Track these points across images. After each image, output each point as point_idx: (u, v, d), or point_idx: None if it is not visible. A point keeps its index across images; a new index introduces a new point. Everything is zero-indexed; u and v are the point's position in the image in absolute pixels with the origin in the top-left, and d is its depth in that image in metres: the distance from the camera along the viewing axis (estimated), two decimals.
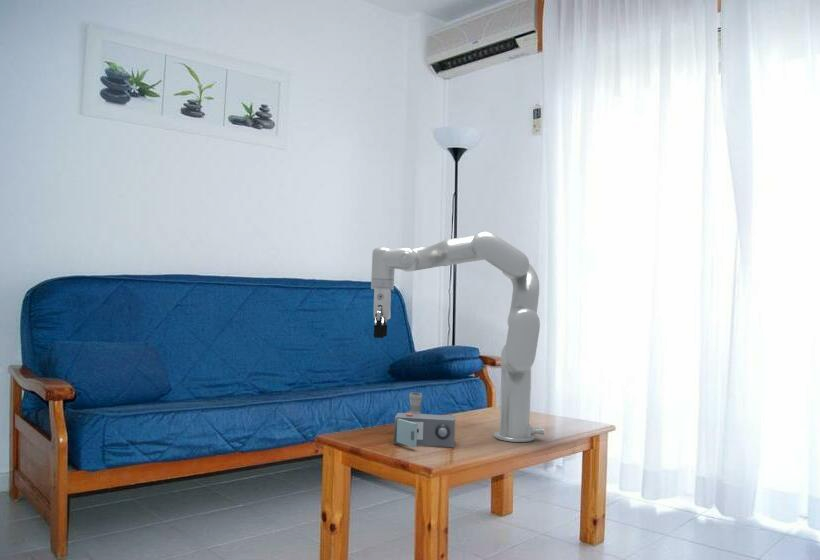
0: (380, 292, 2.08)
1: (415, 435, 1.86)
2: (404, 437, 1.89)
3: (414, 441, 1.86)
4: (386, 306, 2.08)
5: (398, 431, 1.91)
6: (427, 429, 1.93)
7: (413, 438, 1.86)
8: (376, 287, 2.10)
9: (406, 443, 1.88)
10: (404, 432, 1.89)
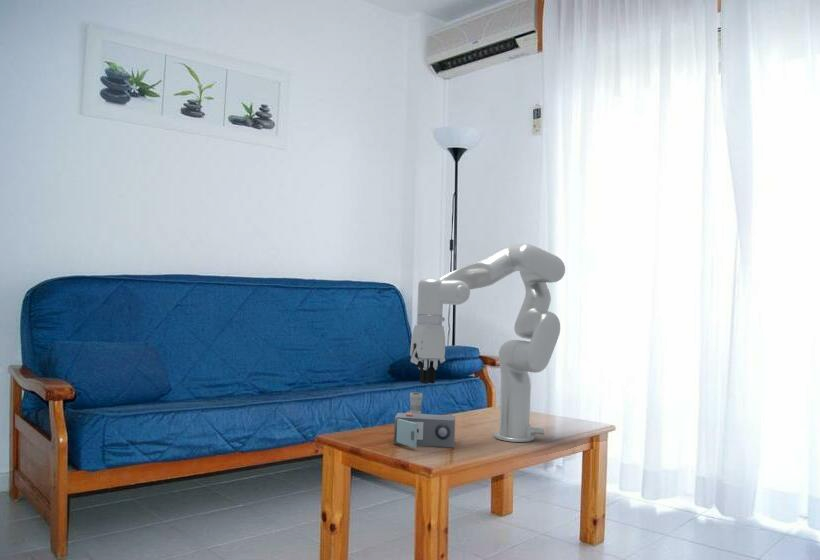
0: None
1: (415, 435, 1.86)
2: (404, 437, 1.89)
3: (414, 441, 1.86)
4: None
5: (398, 431, 1.91)
6: (427, 429, 1.93)
7: (413, 438, 1.86)
8: None
9: (406, 443, 1.88)
10: (404, 432, 1.89)
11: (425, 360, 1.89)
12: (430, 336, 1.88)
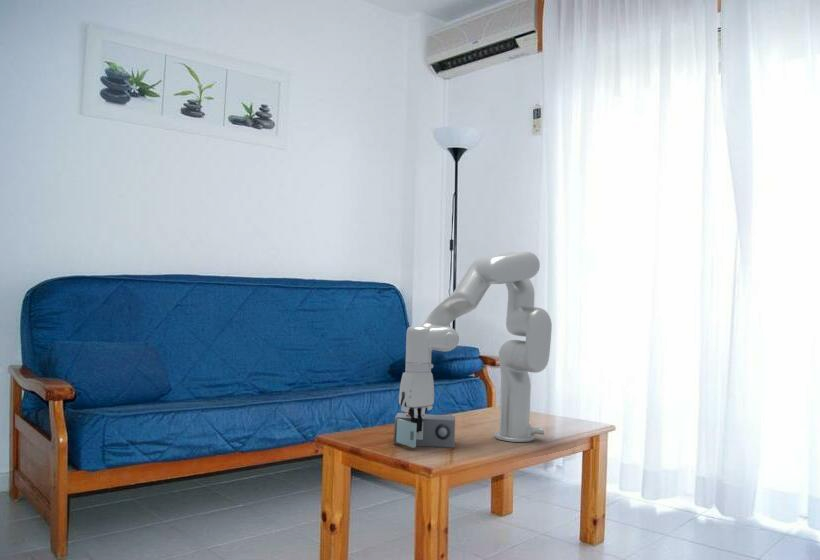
0: None
1: (414, 435, 1.86)
2: (404, 437, 1.89)
3: (414, 441, 1.86)
4: None
5: (398, 431, 1.91)
6: (427, 429, 1.93)
7: (412, 438, 1.85)
8: None
9: (406, 443, 1.88)
10: (404, 432, 1.89)
11: (415, 408, 1.88)
12: (419, 384, 1.87)
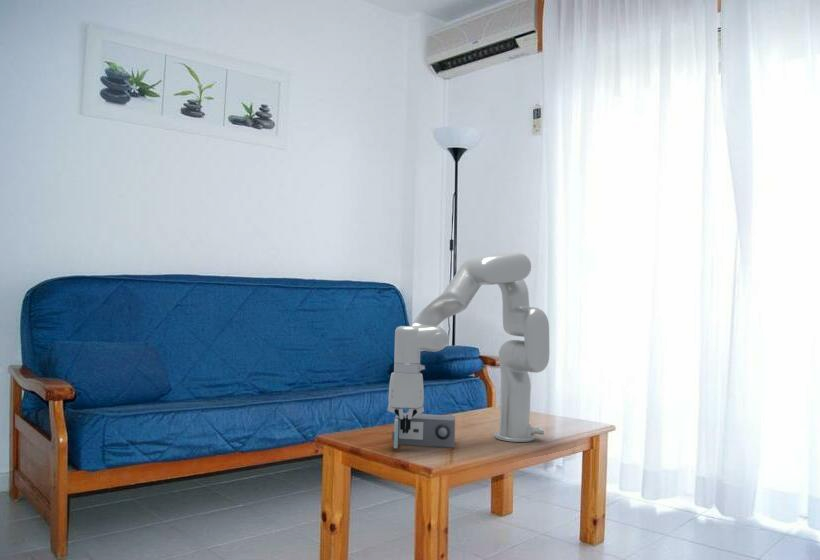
0: (422, 377, 1.87)
1: (396, 436, 1.84)
2: None
3: (395, 442, 1.84)
4: None
5: None
6: (427, 429, 1.93)
7: (393, 439, 1.84)
8: (418, 372, 1.86)
9: None
10: None
11: (400, 409, 1.86)
12: (402, 384, 1.85)
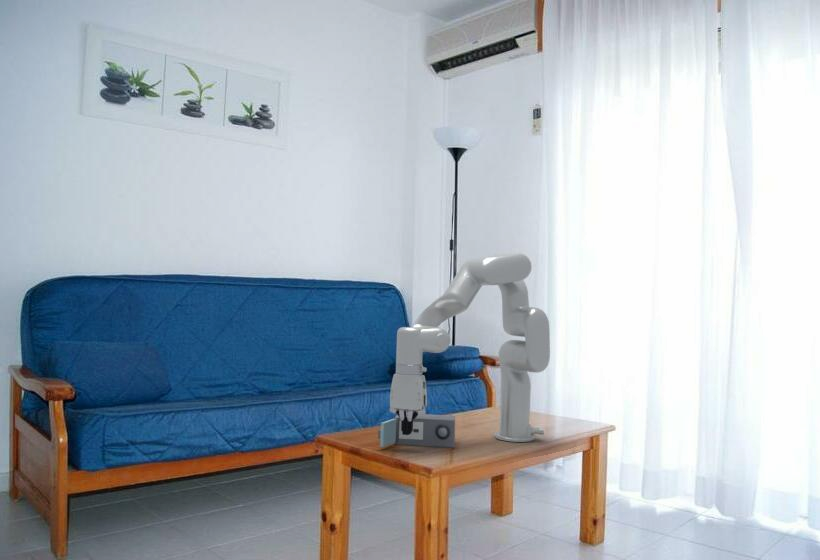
0: (423, 380, 1.84)
1: (382, 435, 1.85)
2: None
3: (381, 440, 1.85)
4: (426, 394, 1.86)
5: None
6: (427, 429, 1.93)
7: (379, 437, 1.85)
8: (418, 374, 1.83)
9: None
10: None
11: (400, 410, 1.85)
12: (401, 385, 1.84)
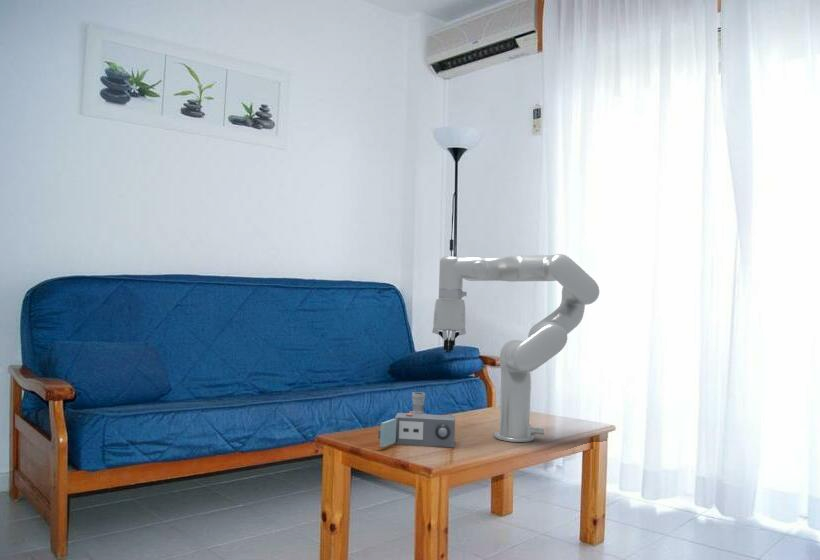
0: (464, 303, 2.06)
1: (382, 435, 1.85)
2: None
3: (381, 440, 1.85)
4: None
5: None
6: (427, 429, 1.93)
7: (379, 437, 1.85)
8: (460, 298, 2.05)
9: None
10: None
11: (444, 331, 2.05)
12: (445, 308, 2.04)
